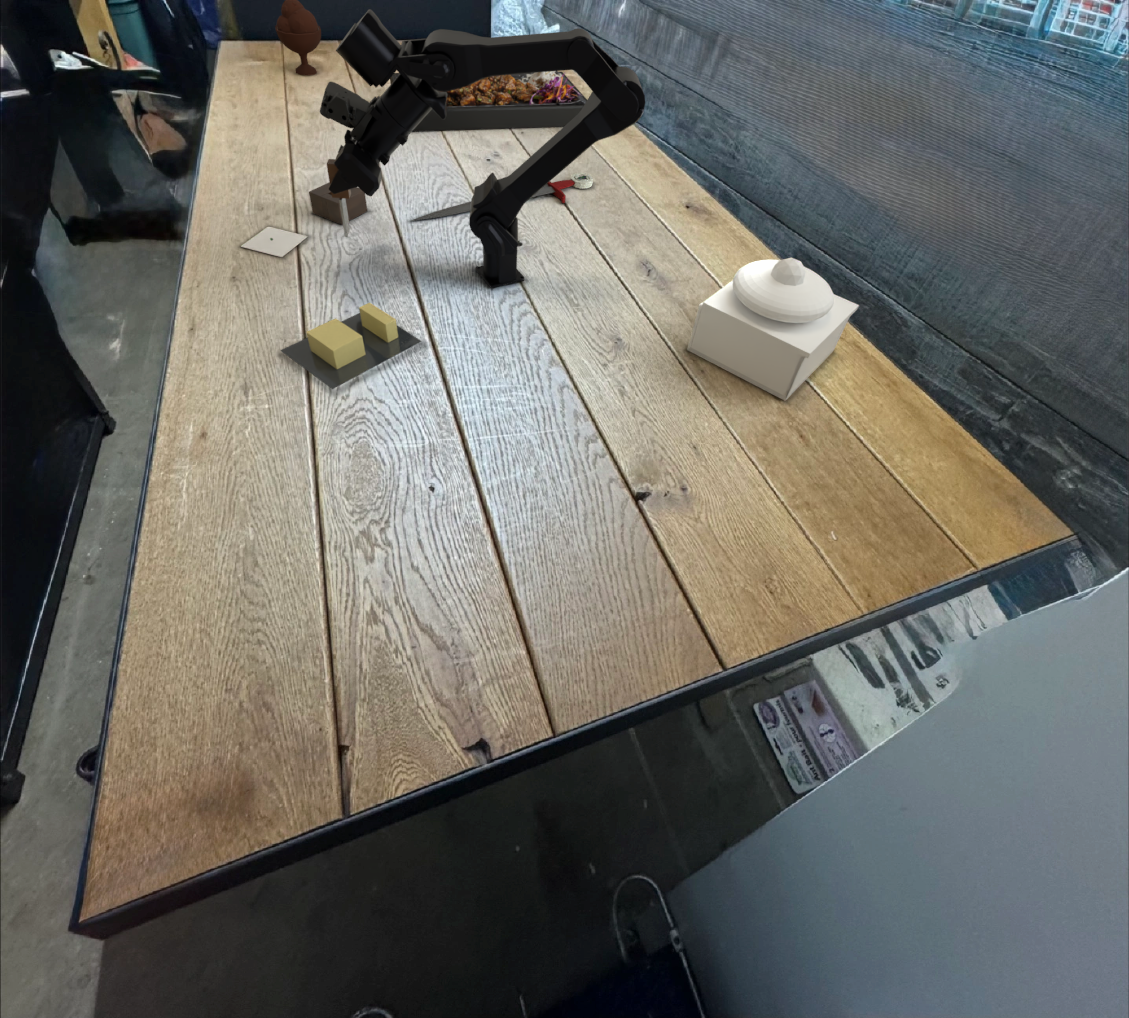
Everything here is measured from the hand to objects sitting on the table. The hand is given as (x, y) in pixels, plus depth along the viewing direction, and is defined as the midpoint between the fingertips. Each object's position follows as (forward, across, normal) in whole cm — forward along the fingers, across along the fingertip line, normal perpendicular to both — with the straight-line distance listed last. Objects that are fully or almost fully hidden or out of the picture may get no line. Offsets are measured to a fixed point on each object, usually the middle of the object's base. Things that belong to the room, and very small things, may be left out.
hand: (332, 188), depth 100 cm
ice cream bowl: (+27, -95, -8) cm, 100 cm away
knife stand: (+12, -20, +6) cm, 24 cm away
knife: (+4, 0, +6) cm, 7 cm away
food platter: (-7, -78, +26) cm, 82 cm away
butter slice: (+4, +19, +14) cm, 24 cm away
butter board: (+6, +22, +12) cm, 27 cm away
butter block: (+7, +24, +11) cm, 28 cm away
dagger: (-10, -28, +29) cm, 42 cm away
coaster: (+19, -8, 0) cm, 21 cm away
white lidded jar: (-38, +20, +58) cm, 72 cm away
